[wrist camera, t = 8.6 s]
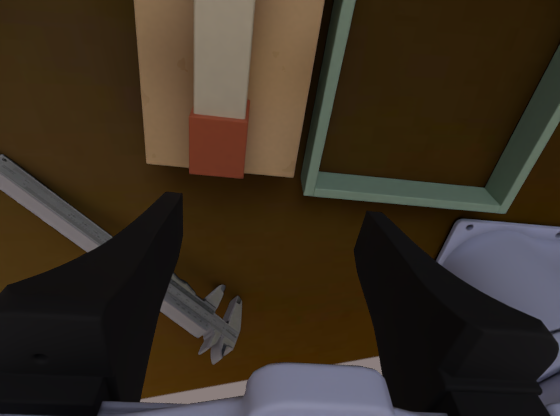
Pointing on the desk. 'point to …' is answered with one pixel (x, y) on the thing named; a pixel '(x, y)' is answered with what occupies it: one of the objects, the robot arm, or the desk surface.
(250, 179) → the desk surface
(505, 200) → the rectangular frame
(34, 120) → the desk surface
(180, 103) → the l-shaped wooden board
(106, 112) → the desk surface
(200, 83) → the white bar red tip
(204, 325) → the caliper
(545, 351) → the robot arm
